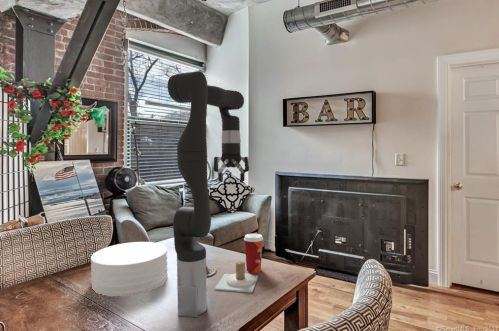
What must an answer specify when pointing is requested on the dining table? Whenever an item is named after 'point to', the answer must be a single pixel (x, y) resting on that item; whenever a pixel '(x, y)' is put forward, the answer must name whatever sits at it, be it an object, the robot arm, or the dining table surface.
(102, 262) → the plate stack
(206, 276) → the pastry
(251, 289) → the rubber mat
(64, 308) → the dining table surface
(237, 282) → the cup lid
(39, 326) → the dining table surface
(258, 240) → the coffee cup
